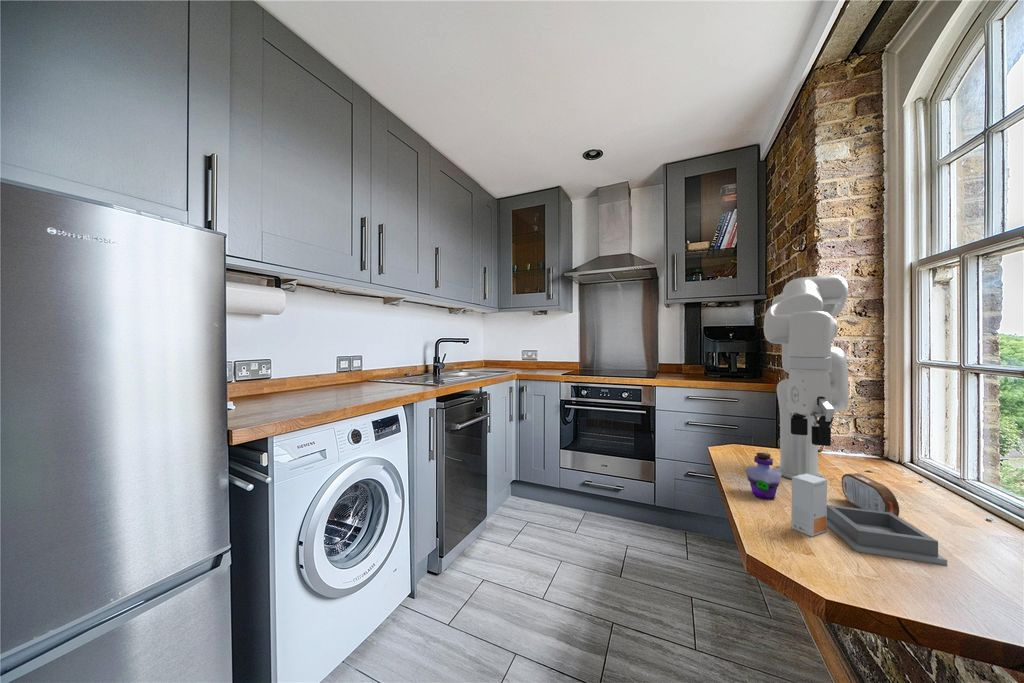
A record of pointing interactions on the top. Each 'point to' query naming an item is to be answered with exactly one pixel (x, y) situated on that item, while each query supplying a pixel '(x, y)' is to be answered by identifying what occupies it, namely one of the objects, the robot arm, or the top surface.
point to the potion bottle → (763, 477)
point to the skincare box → (809, 504)
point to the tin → (868, 494)
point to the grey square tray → (882, 534)
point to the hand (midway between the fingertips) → (809, 439)
